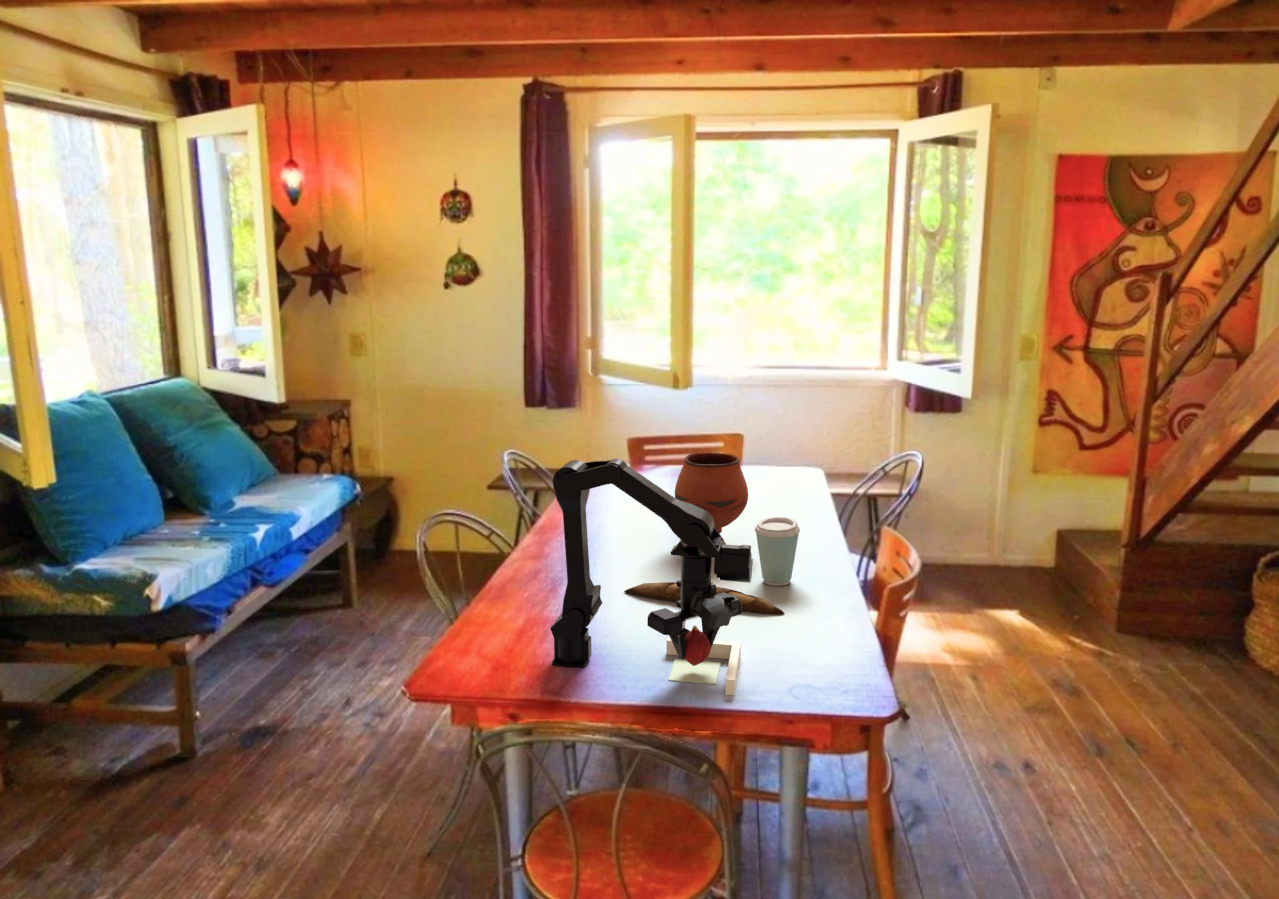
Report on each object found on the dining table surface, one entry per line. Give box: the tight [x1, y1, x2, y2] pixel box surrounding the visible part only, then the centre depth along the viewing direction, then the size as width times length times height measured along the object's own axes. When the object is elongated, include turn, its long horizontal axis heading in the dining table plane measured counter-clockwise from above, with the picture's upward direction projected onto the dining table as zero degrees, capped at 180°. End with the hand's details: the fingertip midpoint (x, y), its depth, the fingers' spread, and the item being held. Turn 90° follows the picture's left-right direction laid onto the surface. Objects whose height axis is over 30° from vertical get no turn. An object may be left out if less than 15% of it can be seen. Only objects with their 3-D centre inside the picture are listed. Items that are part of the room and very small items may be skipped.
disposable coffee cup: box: [754, 516, 801, 587], centre depth 228 cm, size 11×11×15 cm
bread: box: [624, 581, 785, 615], centre depth 215 cm, size 38×5×5 cm, turn 70°
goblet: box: [674, 452, 749, 545], centre depth 251 cm, size 19×19×25 cm
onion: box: [684, 624, 711, 666], centre depth 181 cm, size 6×6×8 cm
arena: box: [665, 636, 742, 696], centre depth 181 cm, size 15×17×3 cm
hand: (694, 655), depth 181 cm, fingers closed on onion, 6 cm apart
